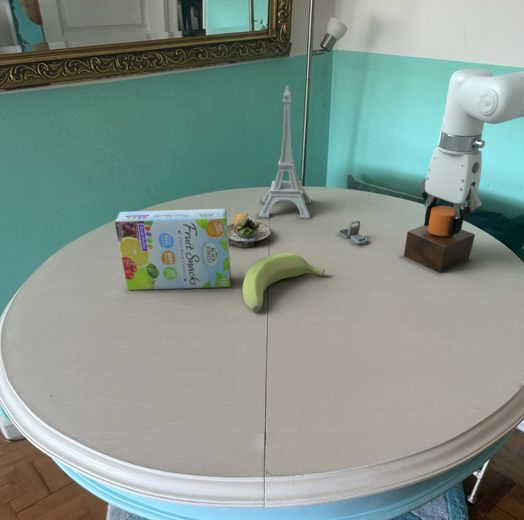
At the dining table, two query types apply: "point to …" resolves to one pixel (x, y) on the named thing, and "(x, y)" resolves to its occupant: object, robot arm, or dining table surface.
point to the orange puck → (440, 220)
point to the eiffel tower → (286, 163)
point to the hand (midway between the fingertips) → (441, 228)
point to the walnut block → (438, 248)
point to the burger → (246, 231)
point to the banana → (272, 275)
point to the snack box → (174, 248)
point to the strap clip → (354, 234)
